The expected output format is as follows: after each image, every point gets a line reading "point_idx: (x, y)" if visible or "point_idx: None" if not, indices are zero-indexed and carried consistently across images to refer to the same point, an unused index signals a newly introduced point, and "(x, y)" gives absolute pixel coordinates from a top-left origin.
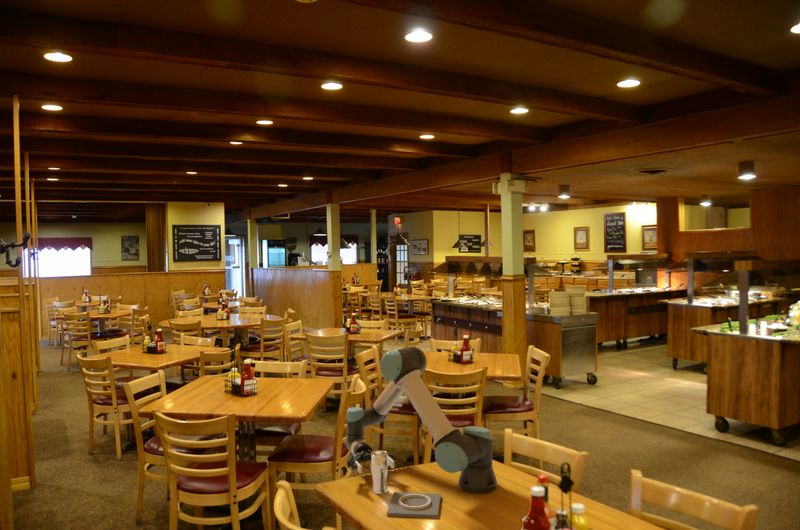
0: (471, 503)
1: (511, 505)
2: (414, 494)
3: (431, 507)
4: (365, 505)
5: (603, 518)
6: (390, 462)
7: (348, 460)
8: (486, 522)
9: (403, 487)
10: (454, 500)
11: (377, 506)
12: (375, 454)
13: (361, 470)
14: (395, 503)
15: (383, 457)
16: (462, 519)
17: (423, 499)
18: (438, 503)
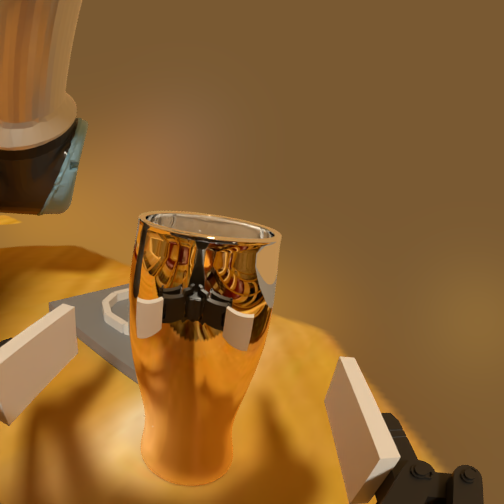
0: (43, 276)
1: (16, 252)
2: (122, 319)
3: None
4: (304, 387)
5: (7, 221)
6: (49, 348)
7: (473, 496)
8: (99, 256)
9: (56, 412)
10: (48, 293)
11: (263, 368)
12: (208, 273)
13: (331, 383)
14: None
15: (206, 226)
16: (119, 269)
17: (115, 311)
18: (106, 290)
